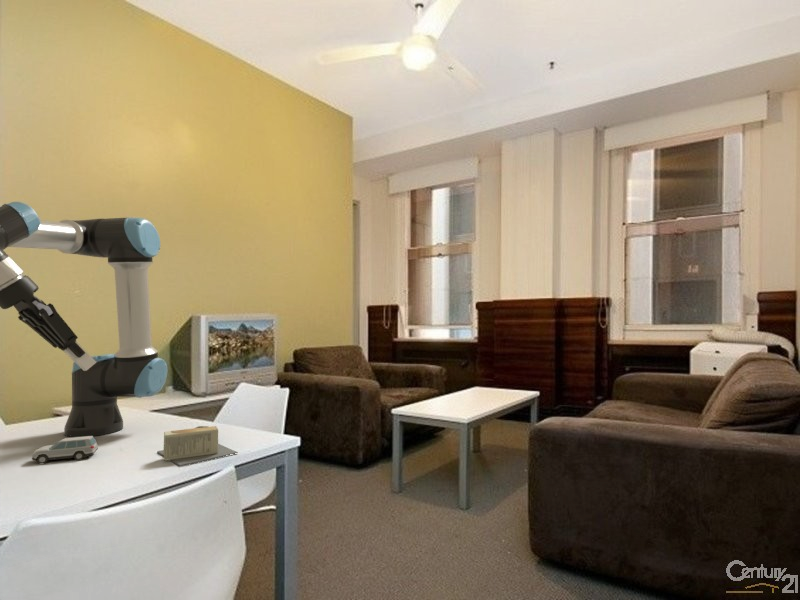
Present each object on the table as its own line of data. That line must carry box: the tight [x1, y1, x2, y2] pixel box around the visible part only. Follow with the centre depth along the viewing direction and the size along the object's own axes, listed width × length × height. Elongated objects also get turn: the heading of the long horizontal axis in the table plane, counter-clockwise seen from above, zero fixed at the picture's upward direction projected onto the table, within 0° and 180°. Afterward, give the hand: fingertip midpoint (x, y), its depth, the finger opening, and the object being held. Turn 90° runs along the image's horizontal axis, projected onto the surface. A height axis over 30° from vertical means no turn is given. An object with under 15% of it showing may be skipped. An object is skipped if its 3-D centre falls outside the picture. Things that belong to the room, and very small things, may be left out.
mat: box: [157, 443, 239, 468], centre depth 119 cm, size 16×14×1 cm
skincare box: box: [163, 425, 219, 461], centre depth 116 cm, size 6×4×12 cm
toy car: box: [31, 436, 99, 464], centre depth 115 cm, size 6×13×5 cm, turn 111°
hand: (90, 366), depth 107 cm, fingers closed
